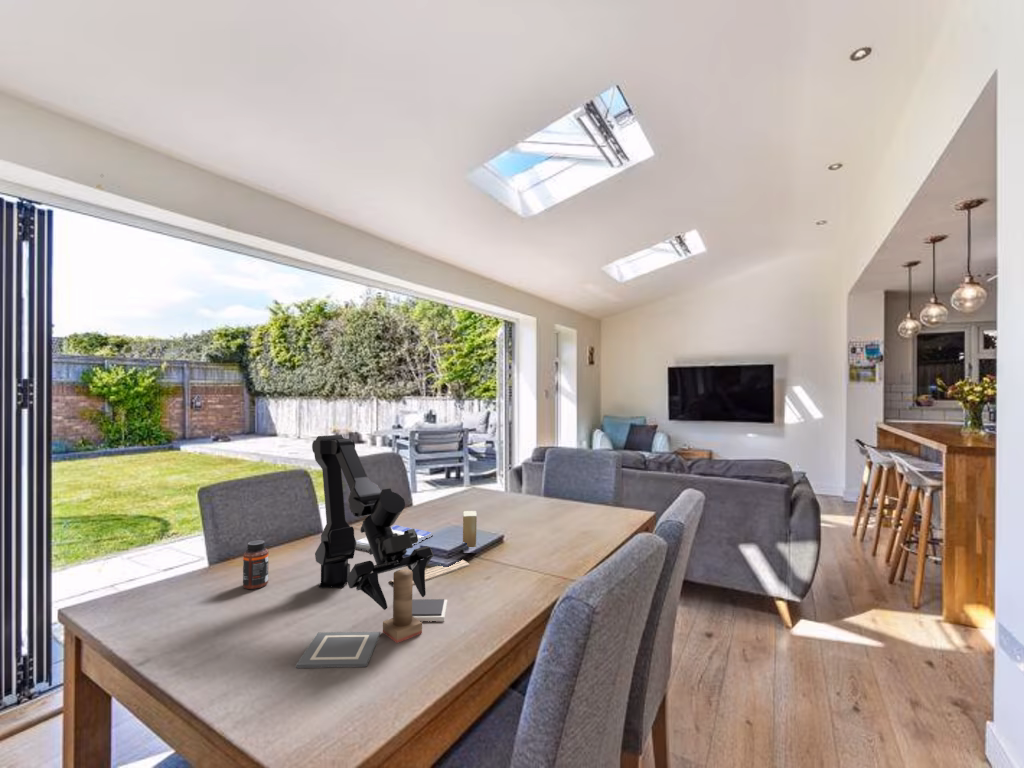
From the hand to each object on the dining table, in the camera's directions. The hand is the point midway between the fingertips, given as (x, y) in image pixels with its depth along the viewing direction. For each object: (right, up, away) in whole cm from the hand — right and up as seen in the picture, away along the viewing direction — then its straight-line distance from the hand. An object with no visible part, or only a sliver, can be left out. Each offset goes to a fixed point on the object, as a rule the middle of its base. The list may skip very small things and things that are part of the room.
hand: (405, 602), depth 105 cm
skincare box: (+9, -7, +53) cm, 55 cm away
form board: (-12, -7, -6) cm, 15 cm away
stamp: (-1, -7, +1) cm, 7 cm away
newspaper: (-1, -8, +34) cm, 35 cm away
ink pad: (+3, -7, +10) cm, 13 cm away
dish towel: (-18, -8, +62) cm, 65 cm away
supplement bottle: (-45, -7, +24) cm, 51 cm away
